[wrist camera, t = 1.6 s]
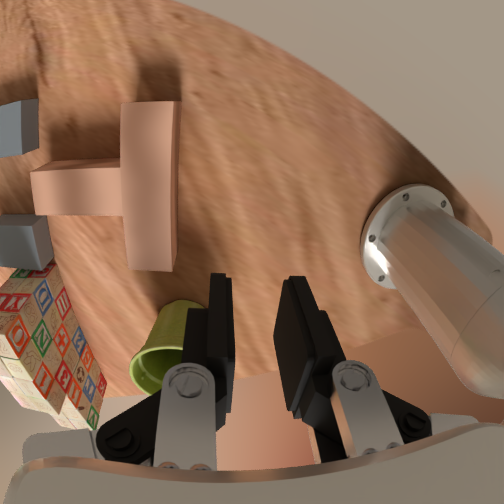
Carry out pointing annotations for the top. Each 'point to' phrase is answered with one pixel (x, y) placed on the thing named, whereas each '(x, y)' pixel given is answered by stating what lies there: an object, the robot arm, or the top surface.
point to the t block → (125, 184)
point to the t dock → (22, 225)
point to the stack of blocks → (47, 350)
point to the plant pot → (161, 347)
